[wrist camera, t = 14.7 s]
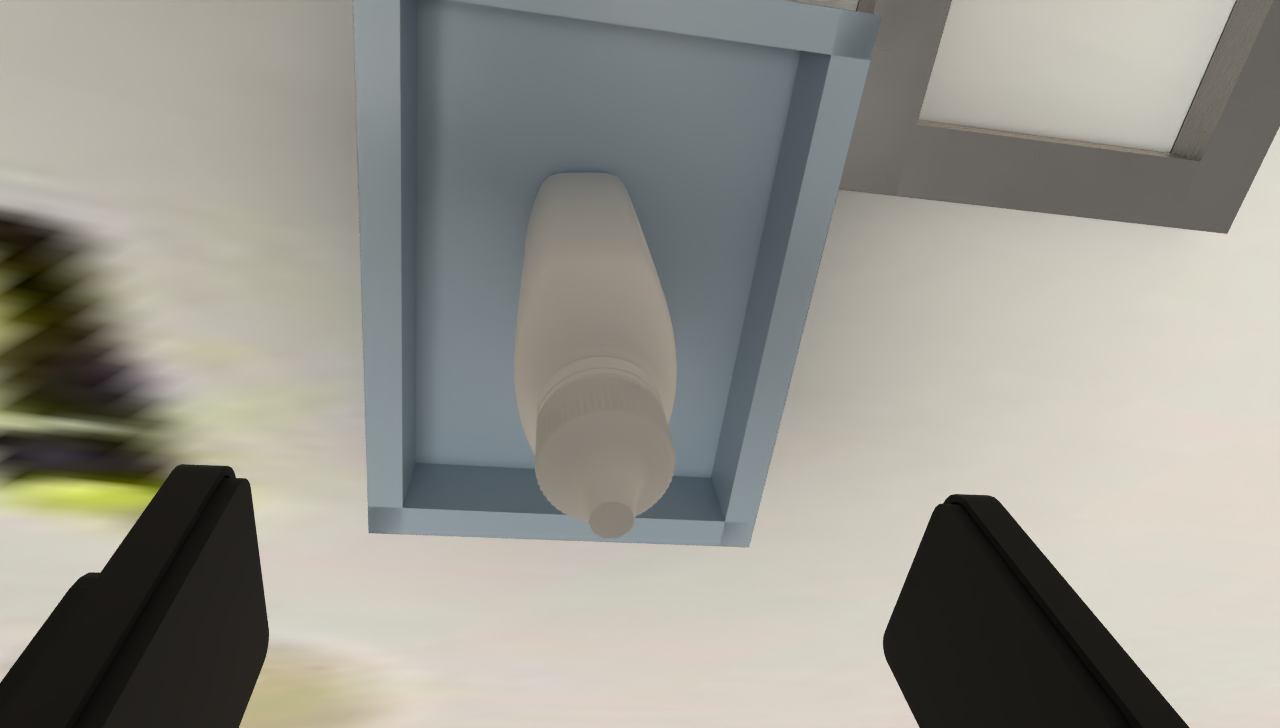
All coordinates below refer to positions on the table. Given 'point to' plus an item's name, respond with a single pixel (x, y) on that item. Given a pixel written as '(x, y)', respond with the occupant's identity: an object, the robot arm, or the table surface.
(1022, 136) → the gray square frame
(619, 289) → the eye dropper bottle
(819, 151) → the tray
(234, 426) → the table surface
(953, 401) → the table surface
